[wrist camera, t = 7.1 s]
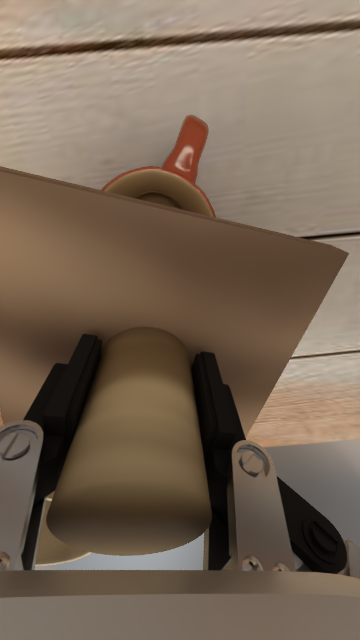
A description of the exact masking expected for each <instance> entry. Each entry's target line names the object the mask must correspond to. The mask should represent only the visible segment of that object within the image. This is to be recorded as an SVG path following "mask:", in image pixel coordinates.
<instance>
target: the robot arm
mask: <svg viewBox="0 0 360 640" xmlns="http://www.w3.org/2000/svg"><path fill="white" fill-rule="evenodd" d="M101 346H102V340H99V339H97V336H96V335H89V334H83V335H82V336H81V338H80V340H79V343H78V345H77V347H76V349H75V351H74V353H73V355H72V357H71V359H70V361H69V363H68V364H63V363H56V364H55V365H54V366H53V368H52V369H51V371H50V373H49V375H48V376H47V378H46V380H45V382H44V384H43V385H42V387H41V389H40V391H39V392H38V394H37V396H36V398H35V400H34V401H33V403H32V405H31V407H30V408H29V410H28V412H27V414H26V416H25V417H24V419H23V420H19V421H13V422H10V423H7V424H5V425H3V426H1V427H0V640H360V546H359V545H357V544H356V543H354V542H353V541H351V540H349V539H347V540H346V541H345V540H343V539H342V537H341V535H340V534H339V532H338V531H337V530H336V528H335V527H334V526H333V524H332V523H331V522H330V521H329V520H328V519H327V518H326V517H324V516H323V515H322V514H321V513H320V512H318V511H317V510H316V509H315V508H314V507H312V506H311V505H310V504H309V503H308V502H307V501H306V500H304V499H303V498H302V497H301V496H300V495H298V494H297V493H296V492H295V491H294V490H292V489H291V488H290V487H289V486H288V485H287V484H285V483H284V482H283V481H282V480H281V479H280V478H278V477H277V476H276V472H275V467H274V464H273V461H272V458H271V457H270V455H269V454H268V452H267V451H266V450H265V449H264V448H263V447H261V446H260V445H259V444H257V443H255V442H252V441H248V440H246V438H245V435H244V431H243V428H242V425H241V422H240V418H239V415H238V412H237V409H236V405H235V402H234V399H233V396H232V392H231V389H230V387H229V385H227V384H223V382H222V378H221V375H220V371H219V367H218V364H217V360H216V357H215V354H214V353H212V352H205V351H201V352H200V354H196V356H195V358H194V362H193V365H192V368H191V370H192V377H193V384H194V391H195V398H196V406H197V413H198V420H199V427H200V434H201V441H202V448H203V455H204V462H205V469H206V476H207V483H208V490H209V497H210V504H211V511H212V520H211V523H210V525H209V527H208V528H207V530H206V531H205V532H204V560H203V570H34V568H35V563H36V557H37V551H38V546H39V540H40V534H41V528H42V523H43V517H44V511H45V505H46V500H47V496H48V495H49V494H51V493H52V492H54V491H55V489H56V486H57V483H58V480H59V478H60V475H61V472H62V469H63V466H64V463H65V460H66V457H67V454H68V451H69V448H70V445H71V442H72V440H73V437H74V434H75V431H76V428H77V425H78V422H79V419H80V416H81V413H82V410H83V407H84V404H85V401H86V398H87V395H88V392H89V389H90V386H91V383H92V381H93V378H94V375H95V372H96V369H97V366H98V363H99V360H100V357H101Z"/></svg>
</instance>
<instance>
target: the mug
mask: <svg viewBox="0 0 360 640" xmlns="http://www.w3.org/2000/svg"><path fill="white" fill-rule="evenodd" d="M208 131H209V130H208V125H207V124H206V123H205V122H204V121H203V120H201V119H200V118H198V117H196V116H194V115H188V116H186V118H185V119H184V121H183V124H182V127H181V130H180V133H179V136H178V138H177V141H176V144H175V147H174V149H173V151H172V152H171V154H170V155H169V157H168V158H167V159H166V161H165V162H164V164H163V166H162V168H160V167H153V166H151V167H143V168H138V169H134V170H131V171H128V172H125V173H123V174H121V175H119V176H117V177H116V178H114V179H113V180H111V181H110V182H109V183H108V184H107V185H105V186H104V187H103V189H102V190H101V191H105V192H110V193H114V194H118V195H122V196H126V197H131V198H135V199H139V200H143V201H147V202H152V203H156V204H160V205H164V206H168V207H173V208H177V209H181V210H185V211H189V212H194V213H198V214H202V215H206V216H210V217H215V218H216V216H215V213H214V211H213V209H212V206H211V204H210V202H209V200H208V199H207V197H206V195H205V194H204V192H203V191H202V190H201V189H200V188H199V187H198V186H196V185H195V181H196V177H197V167H198V162H199V159H200V156H201V154H202V151H203V148H204V146H205V143H206V140H207V136H208Z"/></svg>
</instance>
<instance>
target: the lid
mask: <svg viewBox="0 0 360 640" xmlns="http://www.w3.org/2000/svg"><path fill="white" fill-rule="evenodd" d="M348 254H349V253H347V252H345V251H343V250H340V249H338V248H336V247H334V246H331V245H328V244H324V243H320V242H315V241H311V240H307V239H303V238H299V237H294V236H290V235H286V234H282V233H278V232H273V231H269V230H265V229H261V228H257V227H252V226H248V225H244V224H240V223H236V222H231V221H227V220H223V219H219V218H215V217H210V216H206V215H202V214H198V213H194V212H189V211H185V210H181V209H177V208H173V207H168V206H164V205H160V204H156V203H152V202H147V201H143V200H139V199H135V198H131V197H126V196H122V195H118V194H114V193H110V192H105V191H101V190H97V189H93V188H89V187H84V186H80V185H76V184H72V183H68V182H64V181H59V180H55V179H51V178H47V177H43V176H38V175H34V174H30V173H26V172H22V171H17V170H13V169H9V168H5V167H1V166H0V407H1V413H2V418H3V423H4V425H5V424H7V423H10V422H13V421H19V420H23V419H24V417H25V416H26V414H27V412H28V410H29V408H30V407H31V405H32V403H33V401H34V400H35V398H36V396H37V394H38V392H39V391H40V389H41V387H42V385H43V384H44V382H45V380H46V378H47V376H48V375H49V373H50V371H51V369H52V368H53V366H54V365H55V364H56V363H63V364H68V363H69V361H70V359H71V357H72V355H73V353H74V351H75V349H76V347H77V345H78V343H79V340H80V338H81V336H82V335H83V334H89V335H96V336H97V339H99V340H102V346H101V357H100V360H99V363H98V366H97V369H96V372H95V375H94V378H93V381H92V383H91V386H90V389H89V392H88V395H87V398H86V401H85V404H84V407H83V410H82V413H81V416H80V419H79V422H78V425H77V428H76V431H75V434H74V437H73V440H72V442H71V445H70V448H69V451H68V454H67V457H66V460H65V463H64V466H63V469H62V472H61V475H60V478H59V480H58V483H57V486H56V489H55V492H54V495H53V498H52V501H51V504H50V507H49V510H48V513H47V516H46V523H47V527H48V529H49V531H50V532H51V533H52V534H53V535H54V536H55V537H56V538H57V539H59V540H60V541H62V542H63V543H65V544H67V545H70V546H72V547H75V548H77V549H80V550H84V551H88V552H92V553H98V554H106V555H120V556H123V555H124V556H125V555H126V556H130V555H145V554H152V553H158V552H163V551H167V550H171V549H174V548H177V547H180V546H183V545H185V544H187V543H189V542H191V541H193V540H195V539H196V538H198V537H199V536H200V535H202V534H203V533H204V532H205V531H206V530H207V528H208V527H209V525H210V523H211V520H212V511H211V504H210V497H209V490H208V483H207V476H206V469H205V462H204V455H203V448H202V441H201V434H200V427H199V420H198V413H197V406H196V398H195V391H194V384H193V377H192V370H191V368H192V365H193V362H194V358H195V356H196V354H200V352H201V351H205V352H212V353H214V354H215V357H216V360H217V364H218V367H219V371H220V375H221V378H222V382H223V384H227V385H229V387H230V389H231V392H232V396H233V399H234V402H235V405H236V409H237V412H238V415H239V418H240V422H241V425H242V428H243V431H244V435H245V438H246V436H247V434H248V433H249V431H250V429H251V427H252V425H253V424H254V422H255V420H256V418H257V417H258V415H259V413H260V411H261V409H262V408H263V406H264V404H265V402H266V401H267V399H268V397H269V395H270V393H271V392H272V390H273V388H274V386H275V385H276V383H277V381H278V379H279V377H280V376H281V374H282V372H283V370H284V368H285V367H286V365H287V363H288V361H289V360H290V358H291V356H292V354H293V352H294V351H295V349H296V347H297V345H298V344H299V342H300V340H301V338H302V336H303V335H304V333H305V331H306V329H307V327H308V326H309V324H310V322H311V320H312V319H313V317H314V315H315V313H316V311H317V310H318V308H319V306H320V304H321V303H322V301H323V299H324V297H325V295H326V294H327V292H328V290H329V288H330V287H331V285H332V283H333V281H334V279H335V278H336V276H337V274H338V272H339V270H340V269H341V267H342V265H343V263H344V262H345V260H346V258H347V256H348Z"/></svg>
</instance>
